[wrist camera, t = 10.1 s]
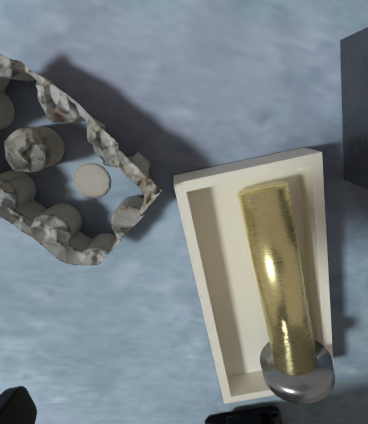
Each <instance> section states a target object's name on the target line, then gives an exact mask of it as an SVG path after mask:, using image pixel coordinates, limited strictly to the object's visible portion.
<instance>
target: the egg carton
mask: <svg viewBox="0 0 368 424" xmlns="http://www.w3.org/2000/svg"><path fill="white" fill-rule="evenodd" d="M11 79H14V80H19V81H28V82H30V81H33V80H36V81H37V83H36V84H35V85H36V87H37V89H38V101H39V103H40V105H41V106H42V108H43V110H44V112H45V113H46V118H47V119H49V120H50V121H52V122H64V123H71V122H79V121H82V120H86V121H87V139H88V142H89V143H91V144H93V149H94V151H95V153H96V156H98V157H100V158H102V159H103V163H104V165H107V166H112V167H119V168H120V169H121V170H122V171H123V173H124V174H125V175H126V176H127V177H128V178H129V179H130V180H131V181H133V182H134V183H135V184H136V185H137V186H138V187H139V188H140V189H141V191H142V192H143V195H144V198H142V197H139V196H131V197H127V198H126V199H124V200H123V201H122V202H121V203H120V205H119V206H118V208H117V209H116V211H115V212H114V214H113V216H112V221H111V222H112V228H113V231H114V233H115V234H116V235H112V234H109V233H101V234H99V235H96V236H95V237H94V238H92V239H91V238H89V237H88V236H86V235H84V234H83V233H82V232H81V231H80V228H81V226H82V219H81V216H80V214H79V212H78V211H77V210H76V209H75V208H74V207H72V206H71V205H68V204H65V203H59V204H55V205H54V206H52V207H50V208H48V209H47V208H45V207H44V206H42V205H41V204H39V203H38V202H37V201H35V195H36V187H35V183H34V181H33V180H32V179H31V178H30V177H29V176H28V175H27V174H26V173H24V172H38V171H40V170H42V169H45V168H47V167H50V166H52V165H55V164H56V163H58V162H59V161H60V160H61V159H62V157H63V155H64V151H65V146H64V143H63V140H62V138H61V137H60V135H59V134H58V133H57V132H56V131H55V130H53V129H51V128H49V127H43V126H39V127H26V128H20V129H17V130H16V131H14V132H13V133H12V134H11V135H9V137H8V138H7V139H6V140H5V141H4V145H5V157H6V159H7V161H8V163H9V165H10V166H11V168H12V169H13V170H10V171H7V172H4V173H0V217H2V218H4V219H6V220H7V221H9V222H10V223H12V224H13V225H15V226H16V227H17V228H18V229H20V230H21V231H22V232H24V233H26V234H27V235H29V236H31V237H33V238H34V239H35V240H37V241H38V242H39V243H40V244H41V245H42V246H44V247H45V248H46V249H47V250H48V251H49V252H50V253H51V254H52V255H54V256H55V257H56V258H57V259H59V260H61V261H63V262H65V263H67V264H72V265H98V264H99V263H101V262H102V261H103V260H104V258H105V257H106V256H107V254H108V253H109V252H110V251H112V249H113V248H114V247H115V246H116V245H117V244H118V243H119V242H120V241H121V238H122V237H123V236H124V235H125V234H126V233H127V232H128V231H130V230H131V229H132V228H133V227H134V226H135V225H136V224H137V223H138V222H139V221H140V220H141V219H142V217H143V216H144V215H145V214H142V213H143V212H144V211H145V210H146V209H147V208H148V207H149V206H150V204H151V203H152V202H153V201H154V200H155V198H156V197H157V196H158V195H159V194H160V193H161V191H162V188H161V189H159V188H158V187H157V186H156V185H155V184H154V182H153V181H152V180H151V179H150V178H149V168H150V165H151V164H150V162H149V161H148V160H147V159H146V158H145V157H144V156H143V155H141V154H140V153H139V152H137V153H136V154H135V155H133V156H130V157H126V156H125V155H124V154H123V153H122V152H121V151H120V150H119V148H118V143H117V142H116V141H115V140H114V139H113V138H112V137H111V136H110V135H109V134H107V133H106V132H105V129H106V126H105V125H104V124H102V123H101V122H99V121H97V120H96V119H94V118H93V117H91V116H90V115H89V114H88V113H87V112H86V111H85V110H84V109H83V108H82V107H81V106H80V105H79V104H78V103H77V102H76V101H75V100H73V99H72V98H71V97H70V96H68V95H67V94H66V93H64V92H63V91H61V90H60V89H58V88H57V86H55V85H54V84H53V82H52V81H50V80H49V79H47V78H46V77H44V76H41V75H38V74H36V73H34V72H32V71H31V70H29V69H28V68H27V67H26V66H25V65H24V64H23V63H22V62H20V61H18V60H12V59H9V58H8V57H6V56H4V55H2V54H0V129H3V128H6V127H8V126H9V125H10V124H11V123H12V122H13V120H14V116H15V109H14V105H13V103H12V101H11V99H10V98H9V97H8V95H7V94H6V93H5V88H6V87H7V86H8V84H9V82H10V80H11ZM74 181H75V185H76V187H77V188H78V190H79V191H80V192H81V193H82V195H84V196H86V197H89V198H99V197H102V196H104V195H105V194H106V193H107V192H108V190H109V188H110V177H109V174H108V172H107V171H106V170H105V169H104V168H103V167H101V166H100V165H97V164H95V163H87V164H84V165H81V166H80V167H79V168H78V169H77V171H76V173H75V179H74Z"/></svg>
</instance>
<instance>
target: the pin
mask: <svg viewBox="0 0 368 424" xmlns="http://www.w3.org/2000/svg"><path fill="white" fill-rule="evenodd" d="M238 198H239V202H240V207H241V212H242V216H243V221H244V226H245V230H246V235H247V240H248V244H249V249H250V254H251V258H252V263H253V268H254V273H255V277H256V282H257V287H258V291H259V296H260V301H261V305H262V310H263V315H264V319H265V324H266V329H267V333H268V338H269V342H268V343H267V344H266V345H265V346H264V347H263V349H262V351H261V354H260V364H261V368H262V373H263V377H264V380H265V383H266V385H267V386H268V388H269V389H270V390H271V391H272V392H273V393H274V394H275V395H277V396H278V397H280V398H282V399H284V400H286V401H289V402H292V403H297V404H309V403H314V402H318V401H320V400H322V399H324V398H325V397H326V396H328V395H329V394H330V392H331V391H332V389H333V387H334V384H335V374H334V367H333V361H332V357H331V355H330V353H329V351H328V350H327V349H326V347H324V346H323V345H322V344H321V343H320V342H318V341H316V340H315V339H314V338H313V332H312V326H311V320H310V314H309V308H308V301H307V295H306V289H305V283H304V277H303V271H302V265H301V259H300V253H299V247H298V241H297V235H296V229H295V223H294V217H293V211H292V205H291V199H290V193H289V187H288V183H287V182H284V181H273V182H265V183H260V184H256V185H252V186H249V187H246V188H244V189H242V190H240V191H239V192H238Z"/></svg>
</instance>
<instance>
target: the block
mask: <svg viewBox="0 0 368 424" xmlns="http://www.w3.org/2000/svg"><path fill="white" fill-rule="evenodd" d="M340 45H341V80H342V115H343V150H344V180H346V181H349V182H351V183H354V184H357V185H359V186H362V187H364V188H367V189H368V27H367V28H365V29H363V30H361V31H359V32H357V33H355V34H352V35H350V36H348V37H346V38H344V39H342V40H340Z"/></svg>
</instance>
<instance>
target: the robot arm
mask: <svg viewBox="0 0 368 424" xmlns="http://www.w3.org/2000/svg"><path fill="white" fill-rule="evenodd" d="M36 415H37V409H36V406H35V404H34V402H33V400H32V398H31V396H30V395H29V393H28V391H27V389H26V388H25V387H23V386H19V387H14V388H9V389H7V390H5V391H4V392H3V393H2V394H1V395H0V424H35V420H36ZM205 424H282V421H281V414H280V411H279V409H278V408H277V407H268V408H262V409H256V410H250V411H244V412H239V413H233V414H227V415H221V416H216V417H210V418H207V419H206V420H205Z"/></svg>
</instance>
